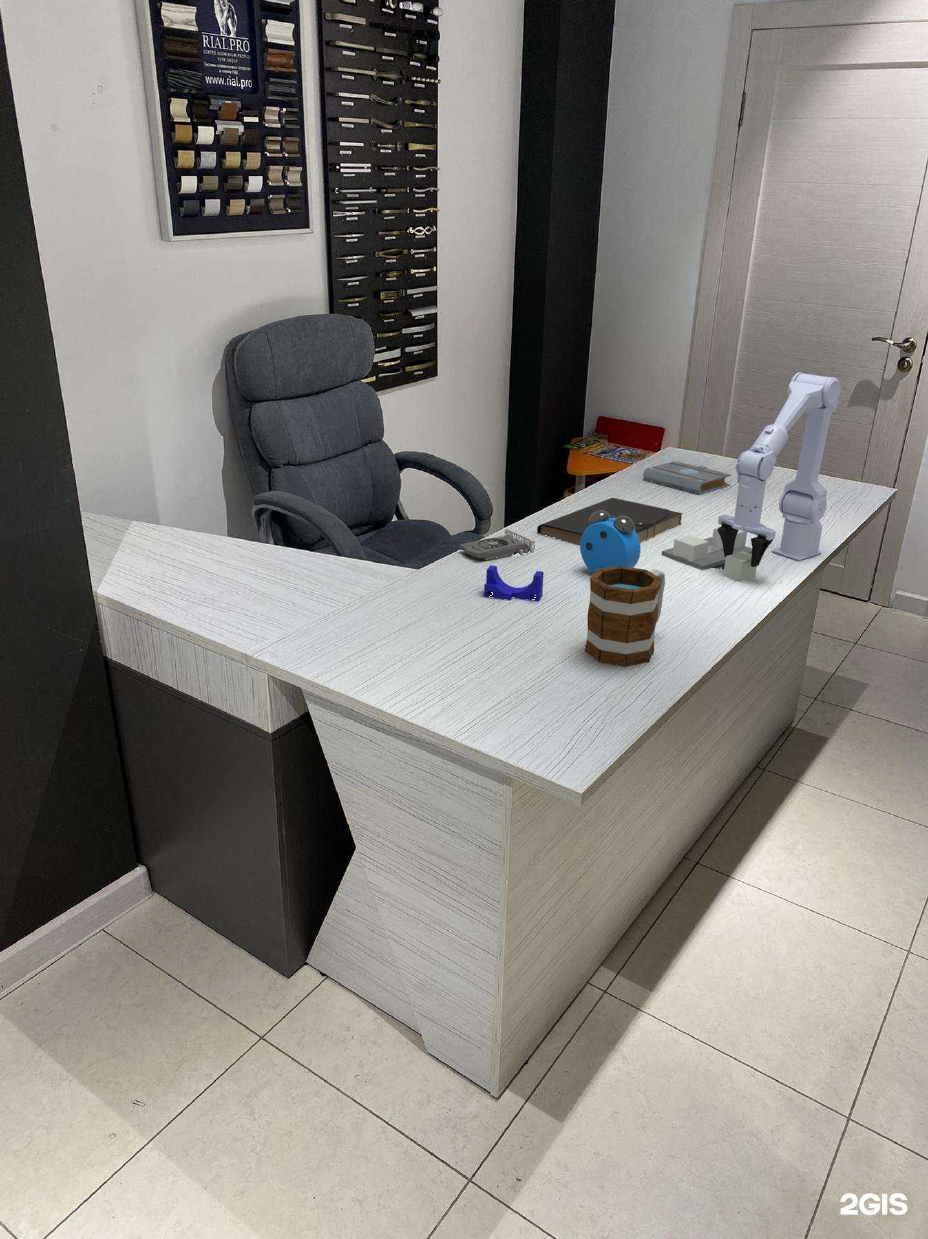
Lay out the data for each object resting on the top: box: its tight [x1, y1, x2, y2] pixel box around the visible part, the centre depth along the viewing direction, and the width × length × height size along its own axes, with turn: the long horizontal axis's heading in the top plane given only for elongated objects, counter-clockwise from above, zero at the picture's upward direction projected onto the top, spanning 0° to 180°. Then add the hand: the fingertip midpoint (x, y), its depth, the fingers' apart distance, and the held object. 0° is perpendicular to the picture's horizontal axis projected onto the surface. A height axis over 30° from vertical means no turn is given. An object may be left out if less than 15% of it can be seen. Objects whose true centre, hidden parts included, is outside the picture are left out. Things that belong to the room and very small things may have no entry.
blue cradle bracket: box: [483, 564, 545, 602], centre depth 207 cm, size 12×4×6 cm, turn 72°
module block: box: [722, 551, 758, 583], centre depth 221 cm, size 6×4×5 cm
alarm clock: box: [579, 510, 642, 574], centre depth 218 cm, size 13×6×15 cm, turn 47°
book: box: [642, 460, 732, 496], centre depth 294 cm, size 21×16×5 cm
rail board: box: [661, 536, 752, 571], centre depth 235 cm, size 20×13×1 cm, turn 127°
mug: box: [584, 566, 666, 668], centre depth 183 cm, size 20×14×15 cm
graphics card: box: [459, 528, 536, 560], centre depth 235 cm, size 17×4×12 cm
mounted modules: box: [672, 526, 748, 562], centre depth 234 cm, size 20×6×4 cm, turn 127°
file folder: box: [536, 497, 683, 546], centre depth 252 cm, size 33×4×24 cm
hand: (741, 561), depth 220 cm, fingers open, 7 cm apart
